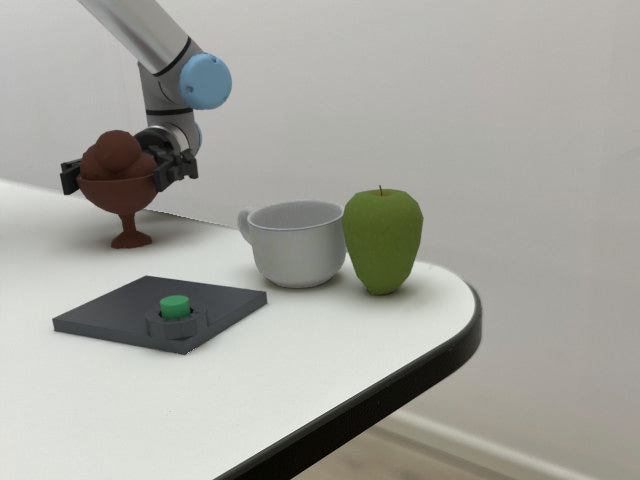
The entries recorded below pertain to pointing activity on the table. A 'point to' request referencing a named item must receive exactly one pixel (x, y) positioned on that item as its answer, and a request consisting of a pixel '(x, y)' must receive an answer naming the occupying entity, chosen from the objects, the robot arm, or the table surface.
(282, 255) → the teacup
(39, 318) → the table surface
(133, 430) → the table surface
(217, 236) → the table surface
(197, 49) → the robot arm
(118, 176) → the ice cream bowl
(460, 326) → the table surface
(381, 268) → the apple
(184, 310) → the button
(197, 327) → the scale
